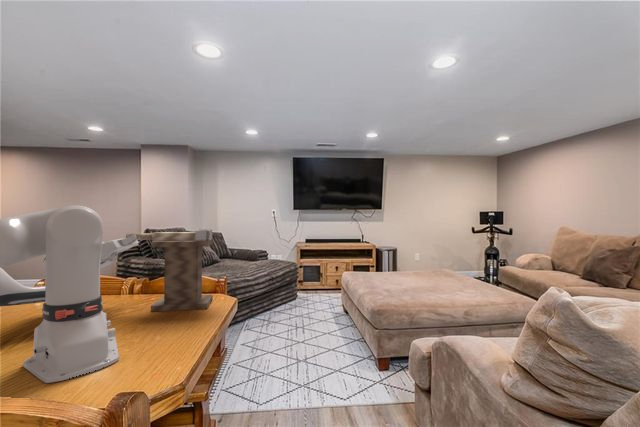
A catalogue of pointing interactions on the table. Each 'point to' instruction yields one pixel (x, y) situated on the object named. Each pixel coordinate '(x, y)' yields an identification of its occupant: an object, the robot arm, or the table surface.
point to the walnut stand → (182, 276)
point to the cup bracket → (203, 235)
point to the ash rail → (165, 236)
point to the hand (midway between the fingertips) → (138, 235)
